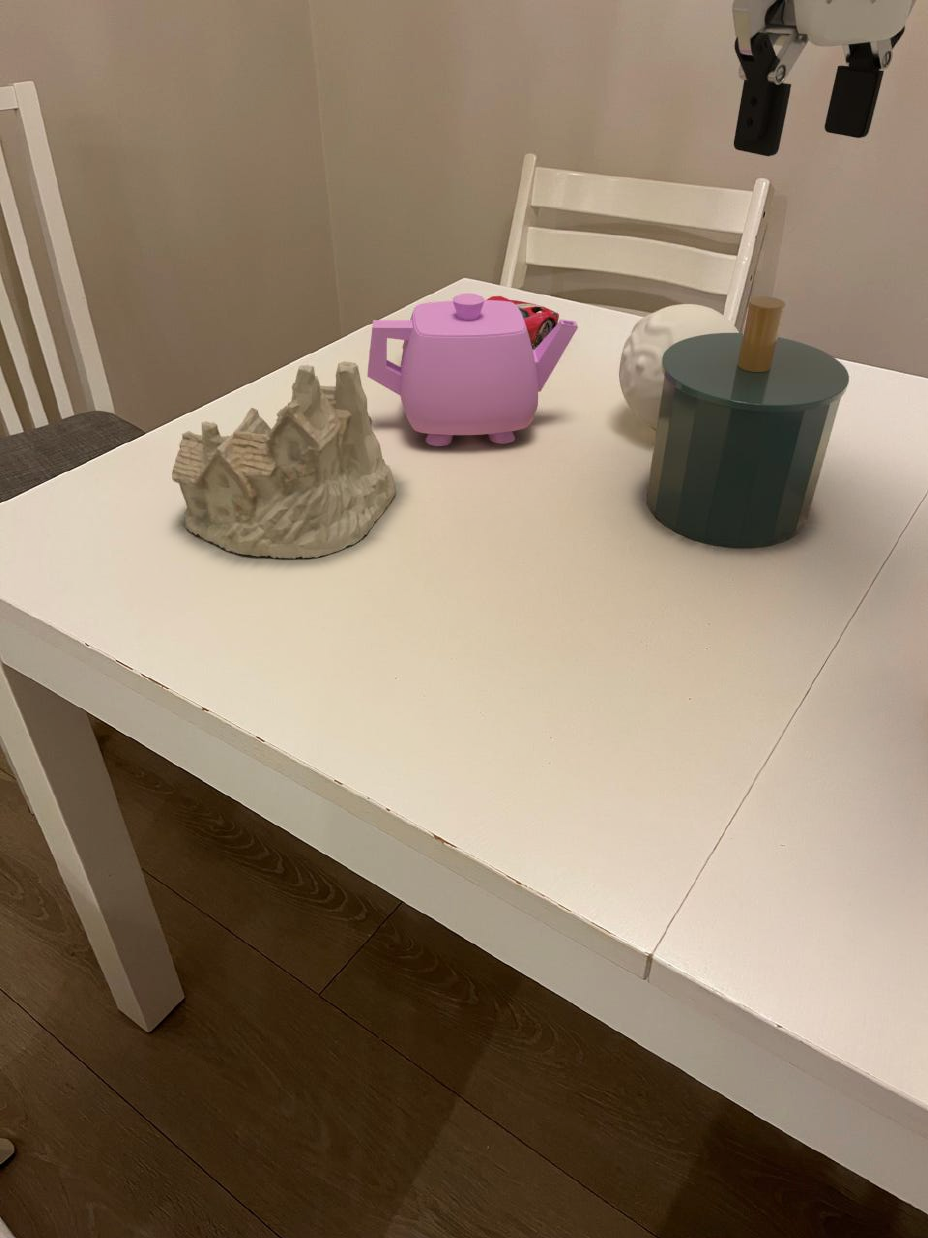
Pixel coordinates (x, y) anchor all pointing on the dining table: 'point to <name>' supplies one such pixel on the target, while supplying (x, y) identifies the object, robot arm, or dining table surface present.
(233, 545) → the ceramic cottage
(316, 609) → the dining table surface
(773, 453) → the tin
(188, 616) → the dining table surface
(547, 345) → the teapot
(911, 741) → the dining table surface
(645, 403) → the decorative ball
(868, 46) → the robot arm
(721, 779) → the dining table surface
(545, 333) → the toy car
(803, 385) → the lid
